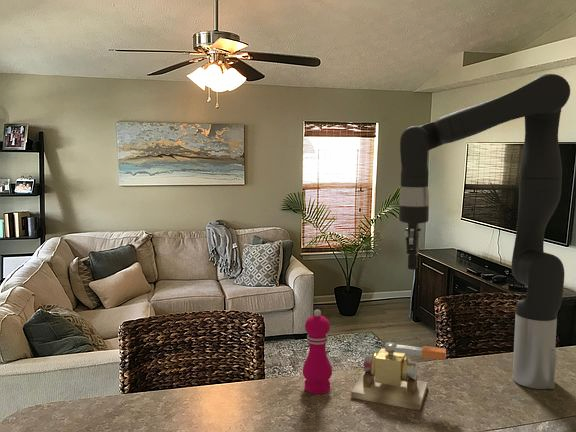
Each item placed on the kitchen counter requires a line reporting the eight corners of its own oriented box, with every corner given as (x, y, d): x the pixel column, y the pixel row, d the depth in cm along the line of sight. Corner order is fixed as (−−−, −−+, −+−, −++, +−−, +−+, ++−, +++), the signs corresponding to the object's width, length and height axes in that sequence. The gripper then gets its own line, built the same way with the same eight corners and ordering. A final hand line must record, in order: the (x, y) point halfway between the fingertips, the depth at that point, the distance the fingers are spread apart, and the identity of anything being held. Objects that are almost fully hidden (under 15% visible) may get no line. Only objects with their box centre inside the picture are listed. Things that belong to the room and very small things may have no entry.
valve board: (427, 387, 123) (427, 370, 122) (420, 410, 112) (420, 391, 111) (363, 377, 129) (363, 360, 129) (351, 397, 118) (351, 379, 118)
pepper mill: (332, 382, 126) (332, 305, 124) (331, 395, 119) (332, 314, 117) (303, 381, 127) (303, 305, 125) (301, 394, 120) (301, 313, 117)
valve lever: (445, 360, 114) (445, 352, 113) (383, 352, 118) (383, 345, 118) (445, 356, 116) (446, 348, 116) (385, 348, 121) (385, 341, 121)
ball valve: (417, 377, 121) (418, 350, 120) (413, 388, 115) (414, 360, 114) (368, 369, 125) (369, 343, 125) (362, 380, 119) (362, 353, 119)
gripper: (427, 206, 123) (425, 275, 125) (430, 202, 136) (428, 264, 138) (396, 205, 126) (395, 273, 128) (402, 201, 138) (400, 263, 140)
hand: (412, 268), depth 133 cm, fingers closed
